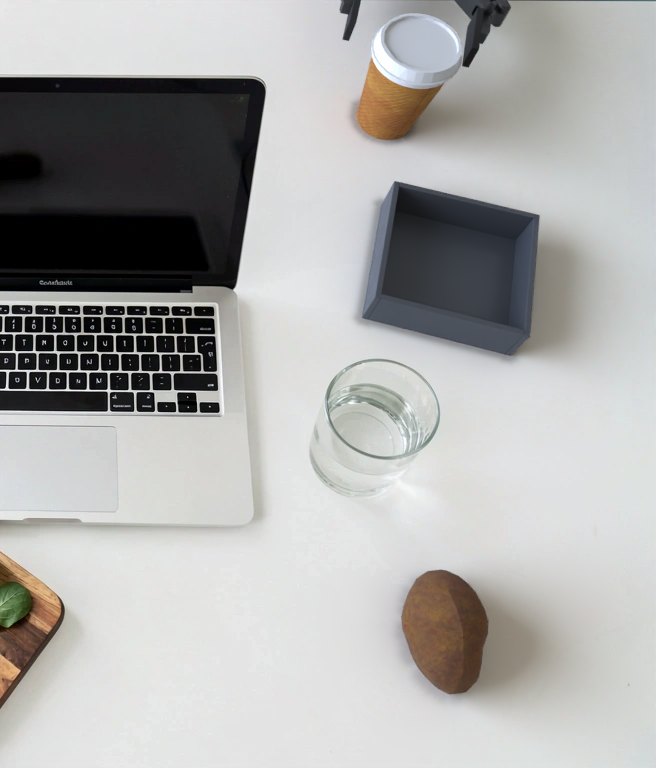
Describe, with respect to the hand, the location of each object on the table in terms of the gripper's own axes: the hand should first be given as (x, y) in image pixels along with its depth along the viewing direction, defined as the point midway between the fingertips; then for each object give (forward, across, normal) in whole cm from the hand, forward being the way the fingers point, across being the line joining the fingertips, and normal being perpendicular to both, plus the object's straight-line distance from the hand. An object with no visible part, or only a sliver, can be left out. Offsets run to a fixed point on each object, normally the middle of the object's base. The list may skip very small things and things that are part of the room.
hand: (409, 44), depth 102 cm
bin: (+25, -9, -7) cm, 28 cm away
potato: (+63, -12, -7) cm, 65 cm away
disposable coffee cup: (+5, 0, -7) cm, 9 cm away
